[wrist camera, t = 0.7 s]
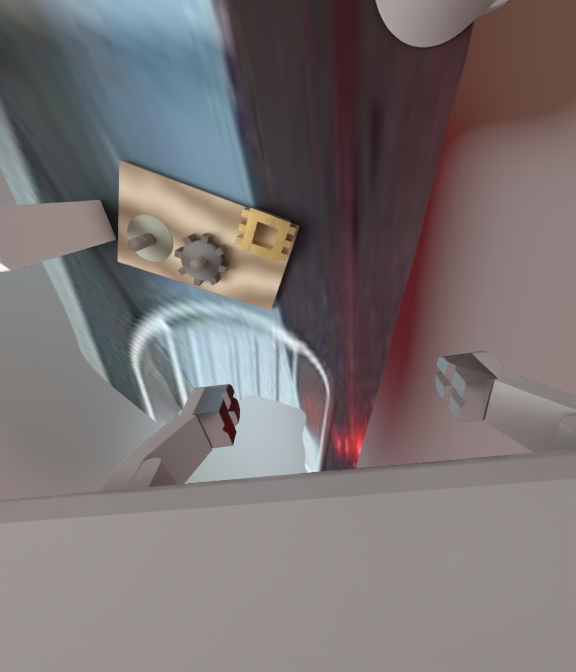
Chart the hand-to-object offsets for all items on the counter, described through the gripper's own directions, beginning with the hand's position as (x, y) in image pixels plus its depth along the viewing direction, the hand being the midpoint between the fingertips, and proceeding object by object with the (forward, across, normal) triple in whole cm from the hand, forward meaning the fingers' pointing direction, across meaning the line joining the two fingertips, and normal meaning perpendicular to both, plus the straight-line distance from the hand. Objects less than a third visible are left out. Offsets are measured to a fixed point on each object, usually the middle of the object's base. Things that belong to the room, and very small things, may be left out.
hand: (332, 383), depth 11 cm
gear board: (+37, +16, -2) cm, 41 cm away
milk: (+38, +34, -8) cm, 51 cm away
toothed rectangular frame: (+36, +6, -2) cm, 36 cm away
